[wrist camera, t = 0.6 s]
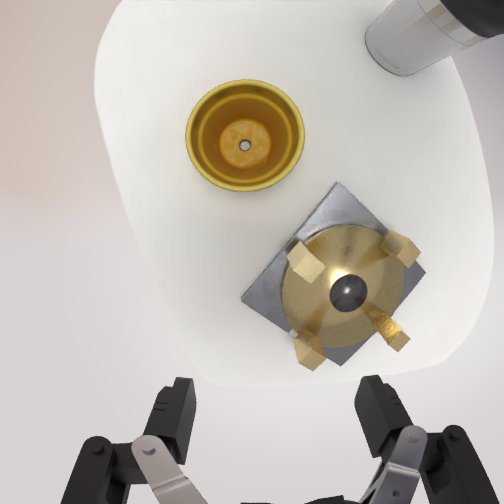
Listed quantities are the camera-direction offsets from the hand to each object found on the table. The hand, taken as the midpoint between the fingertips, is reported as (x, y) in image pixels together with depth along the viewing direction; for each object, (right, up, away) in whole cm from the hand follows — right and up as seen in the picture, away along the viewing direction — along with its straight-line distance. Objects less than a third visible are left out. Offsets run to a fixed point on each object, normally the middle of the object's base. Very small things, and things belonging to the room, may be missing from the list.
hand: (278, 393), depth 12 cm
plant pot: (-2, +19, +20) cm, 28 cm away
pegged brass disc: (+11, +2, +23) cm, 26 cm away
